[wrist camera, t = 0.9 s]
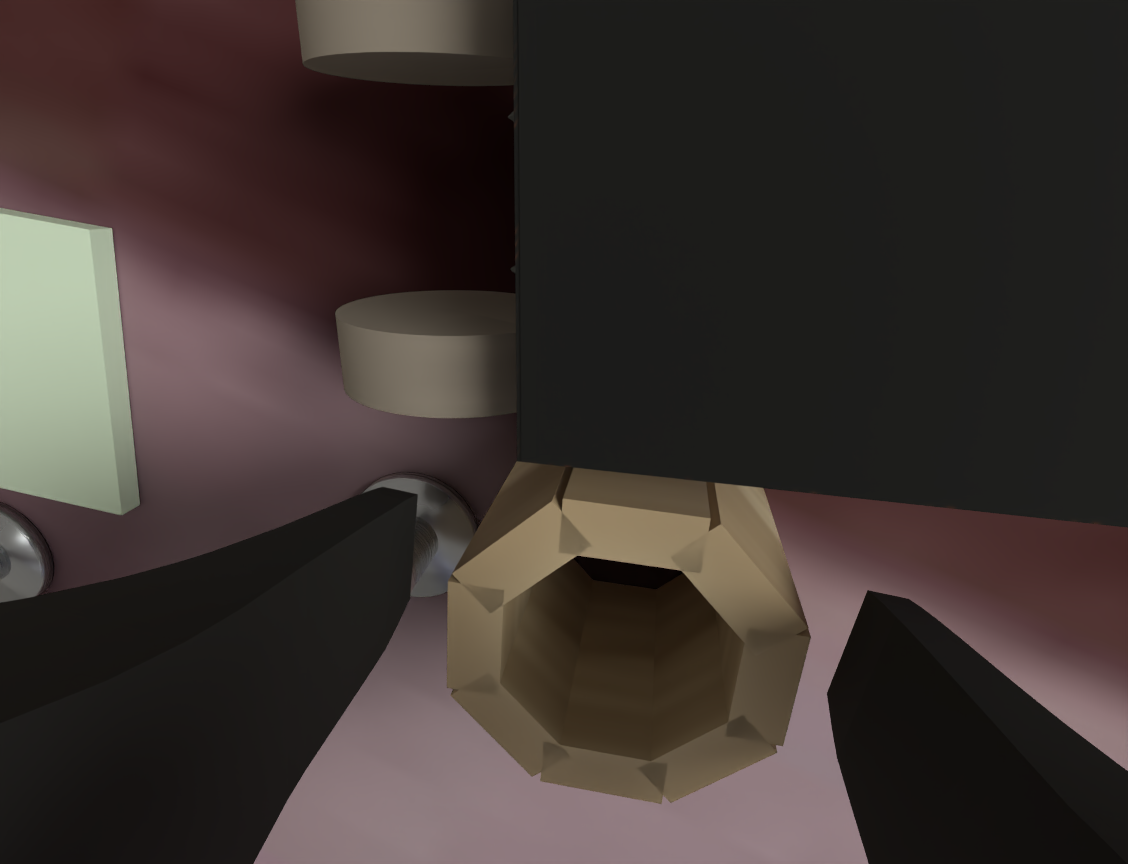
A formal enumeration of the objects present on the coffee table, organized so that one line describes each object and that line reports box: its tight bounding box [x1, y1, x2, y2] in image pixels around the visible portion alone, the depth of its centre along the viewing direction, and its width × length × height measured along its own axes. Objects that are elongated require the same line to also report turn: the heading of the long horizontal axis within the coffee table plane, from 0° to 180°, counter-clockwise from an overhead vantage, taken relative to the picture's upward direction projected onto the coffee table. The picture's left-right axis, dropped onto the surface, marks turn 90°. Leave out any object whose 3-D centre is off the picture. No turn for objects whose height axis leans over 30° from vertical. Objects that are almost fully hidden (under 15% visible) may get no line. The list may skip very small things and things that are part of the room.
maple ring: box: [447, 461, 811, 804], centre depth 12 cm, size 6×6×5 cm
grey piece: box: [0, 472, 478, 603], centre depth 15 cm, size 8×15×4 cm, turn 81°
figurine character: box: [295, 0, 1128, 527], centre depth 9 cm, size 7×8×15 cm
